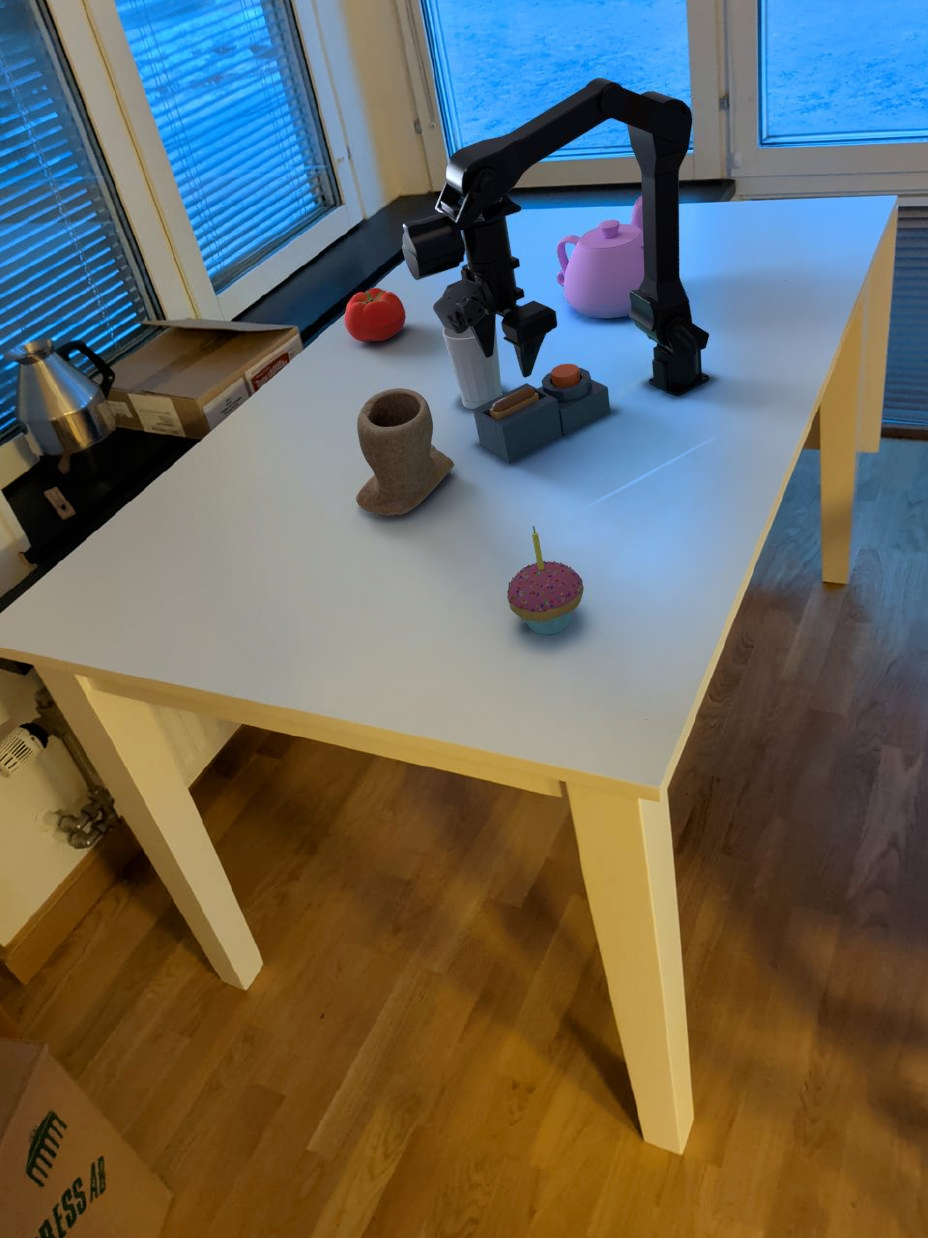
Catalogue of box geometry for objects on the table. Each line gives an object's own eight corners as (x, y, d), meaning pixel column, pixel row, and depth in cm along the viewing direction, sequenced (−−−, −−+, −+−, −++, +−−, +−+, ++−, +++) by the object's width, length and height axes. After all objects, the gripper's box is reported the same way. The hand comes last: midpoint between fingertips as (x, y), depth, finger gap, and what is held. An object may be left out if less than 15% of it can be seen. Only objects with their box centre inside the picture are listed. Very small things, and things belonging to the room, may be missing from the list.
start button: (568, 371, 153) (567, 360, 152) (585, 379, 150) (584, 368, 149) (546, 382, 151) (545, 371, 150) (563, 391, 149) (562, 379, 148)
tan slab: (535, 422, 152) (528, 382, 148) (543, 427, 151) (537, 386, 147) (495, 442, 150) (488, 402, 146) (503, 447, 149) (496, 407, 145)
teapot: (707, 273, 182) (704, 192, 174) (655, 331, 170) (649, 246, 161) (593, 266, 194) (585, 190, 185) (536, 320, 181) (524, 241, 172)
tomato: (397, 348, 182) (387, 307, 178) (340, 349, 186) (329, 310, 182) (418, 320, 190) (409, 280, 185) (363, 322, 194) (353, 283, 189)
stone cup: (416, 530, 139) (390, 431, 129) (347, 513, 145) (318, 417, 136) (478, 469, 148) (459, 372, 138) (411, 455, 154) (388, 362, 144)
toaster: (532, 419, 155) (526, 382, 152) (562, 436, 150) (557, 398, 146) (480, 445, 152) (472, 409, 149) (509, 464, 147) (502, 426, 143)
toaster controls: (576, 395, 158) (572, 359, 155) (610, 412, 153) (606, 375, 149) (531, 418, 156) (526, 381, 152) (564, 436, 150) (559, 399, 146)
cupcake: (509, 605, 123) (492, 522, 116) (580, 591, 123) (568, 506, 115) (518, 653, 117) (501, 568, 109) (594, 638, 116) (582, 552, 109)
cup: (503, 410, 159) (490, 336, 151) (452, 413, 161) (437, 341, 154) (512, 384, 165) (499, 312, 157) (462, 387, 167) (448, 316, 159)
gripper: (399, 260, 138) (423, 368, 148) (476, 296, 125) (497, 412, 135) (469, 231, 142) (488, 338, 151) (551, 262, 128) (567, 378, 138)
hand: (507, 366), depth 144 cm, fingers open, 9 cm apart
